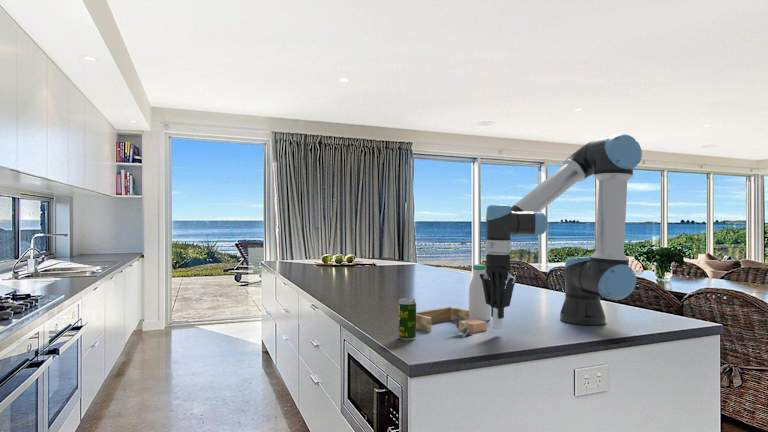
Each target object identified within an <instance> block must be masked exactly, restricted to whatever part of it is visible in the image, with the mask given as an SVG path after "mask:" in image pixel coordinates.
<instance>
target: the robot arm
mask: <svg viewBox="0 0 768 432" xmlns="http://www.w3.org/2000/svg"><path fill="white" fill-rule="evenodd" d="M642 157H643V151H642V147H641V145H640V143H639V142H638V141H637V140H636V139H635V138H634V137H633V136H631V135H629V134H625V133H620V134H611V135H610V136H606V137H602V138H599V139H594V140H591V141H588V142H587V143H585V144H584V145H582V146H581V147H580V148H578V149H577V150H576V151H575V152H574V153H572V154H571V155H570V156H568V157H567V158H566V159H565V160H564V161H563V163H562V166H561V167H559V168H558V169H557V170H556V171H554V172H553V173H551V175H550V176H548V177H547V178H546V179H544V180H543V181H542V182H541V183H540V184H538V185H537V186H536V187H535V188H534V189H532V190H531V191H530V192H528V193H527V194H526V195H524V196H523V197H522V198H521V199H519V200H518V201H517V202H516V203H515V204H513V205H512V206H510V205H509V204H490V205H488V206H487V207H486V212H485V213H486V215H485V223H486V224H485V225H486V226H485V228H486V229H485V230H486V237H485V239H486V240H485V242H486V243H485V252H486V255H485V265H486V271H485V273H483V274H480V278H481V280H482V283H483V289H484V295H485V300H486V304H489V305H490V317H491V318H492V329H495V330H500V329H503V319H504V318H505V308H508V307H510V305H511V302H512V301H511V300H512V297H513V293H514V287H515V284H516V282H517V281H518V278H517V276H513V275H512V274H511V270H510V266H511V255H510V253H511V249H512V248H511V243H512V242H511V238H512V236H517V235H518V236H520V235H521V236H542V235H543V234H545V233H546V231H547V229H548V218H547V216H546V214H545V213H544V212H542V211H543V210H544V209H546V208H547V207H548V206H549V205H550V204H551V203H553V202H554V201H555V200H557V199H558V198H559V197H561V195H563V194H564V193H565V192H566V191H567V190H569V189H570V188H571V187H572V186H573V185H575V184H577V182H578V183H580V182H584V181H585V179H587V178H589V177H591V176H593V177H594V178H595V179H596V180H597V181H598V192H597V209H596V210H597V214H596V229H595V230H596V233H595V251H594V253H592V254H591V255H590V256H582V257H581V256H578V257H577V256H576V257H568V258H566V260H565V263H564V273H565V274H564V283H565V284H564V287H565V289H564V290H565V291H564V293H565V294H564V296H565V298H564V300H563V303H562V307H561V310H560V312H559V317H560V318H559V319H560V321H561V322H565V323H569V324H574V325H579V326H580V325H581V326H582V325H583V326H601V325H605V324H606V322H607V321H606V320H607V318H606V317H607V316H606V314H605V310H604V308H603V306H602V303H601V298H604V299H606V300H615V301H618V300H623V299H626V298H628V296H630V295H631V294H632V293H633V291H634V290H635V287H636V284H637V276H636V273H635V272H634V270H633V268H631V267H630V264H629V263H630V258H629V257H627V255H626V254H625V238H626V235H625V234H626V218H627V217H626V215H627V198H628V182H629V180H630V179H631V178H633V177H634V176H633V175H634V169H635V168H636V167H638V165H639V164H640V162H641V161H642Z"/></svg>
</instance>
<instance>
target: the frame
mask: <svg viewBox="0 0 768 432" xmlns="http://www.w3.org/2000/svg"><path fill="white" fill-rule="evenodd" d="M457 316H459V317H460V318H461V319H462V320H463V321H464V320H469V319H470V311H469V309H465V308H464V309H463V308H459V307H453V306H446V307H440V308H433V309H428V310H423V311H416V330H420V331H424V332H428V333H430V332H432V324H436V323H441V322H446V321H452V322H455V321H454V320H453V318H455V317H457Z"/></svg>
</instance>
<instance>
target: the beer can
mask: <svg viewBox="0 0 768 432" xmlns="http://www.w3.org/2000/svg"><path fill="white" fill-rule="evenodd" d="M416 312H417V301H416V298H412V297H411V298H410V297H406V298H405V297H403V298H399V302H398V338H399V340H401V341H405V342H406V341H408V342H409V341H414V340H415V341H416V338H417V329H416Z"/></svg>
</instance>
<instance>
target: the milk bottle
mask: <svg viewBox="0 0 768 432" xmlns="http://www.w3.org/2000/svg"><path fill="white" fill-rule="evenodd" d="M472 268H473V269H472V270H473V274H472V277H471V280H470V283H469V289H468V310H469V311H470V319H476V320H480V321H484V322H488V321H490V320H491V306H490V305H489V304H486V300H485V295H484V289H483V283H482V280H481V278H480V274H483V273H485V272H486V269H487V265H486V264H479V263H478V264H476V263H475V264H473V266H472Z"/></svg>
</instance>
